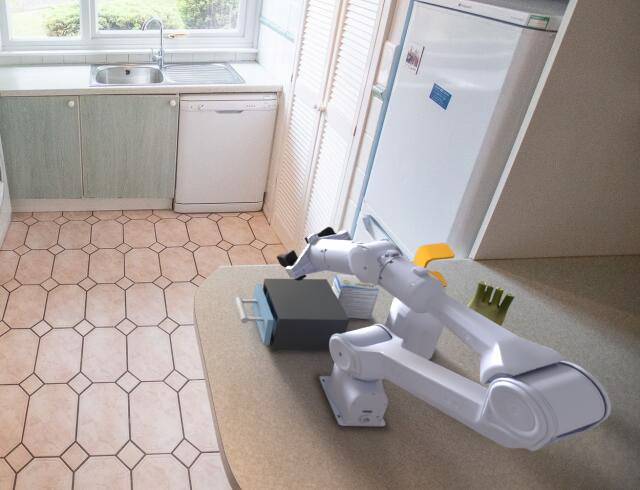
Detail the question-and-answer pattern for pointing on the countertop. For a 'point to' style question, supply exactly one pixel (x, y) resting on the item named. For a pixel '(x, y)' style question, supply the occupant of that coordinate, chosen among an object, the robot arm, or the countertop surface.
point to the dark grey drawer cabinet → (305, 314)
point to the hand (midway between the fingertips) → (294, 250)
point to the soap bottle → (419, 327)
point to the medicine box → (355, 296)
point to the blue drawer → (260, 313)
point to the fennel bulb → (491, 303)
